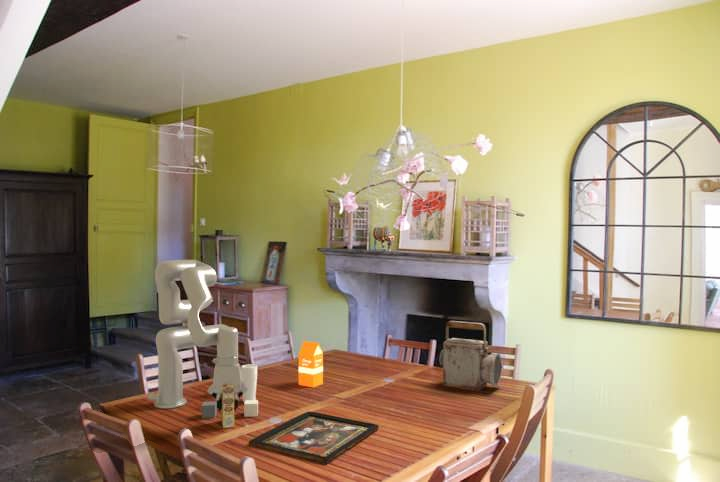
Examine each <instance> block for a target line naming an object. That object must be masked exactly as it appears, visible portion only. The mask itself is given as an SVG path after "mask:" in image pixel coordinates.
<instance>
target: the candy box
mask: <svg viewBox="0 0 720 482" xmlns="http://www.w3.org/2000/svg"><path fill="white" fill-rule="evenodd" d="M220 397H221V411H220V412H221V424H222V428H223V429H228V428H235V411H234V399H235V396H234V385H223V393H221V396H220Z"/></svg>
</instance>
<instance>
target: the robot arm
mask: <svg viewBox="0 0 720 482" xmlns="http://www.w3.org/2000/svg"><path fill="white" fill-rule="evenodd" d="M217 276H218V275H217V272H216V270H215V269H214V268H213V267H212V266H211V265H209V264H206V263H204V262H202V261H199V260H197V259H172V260H164V261H162V262H160V263H158V264H157V266H156V268H155V271H154V278H155V279H154V280H155V283H156V287H157V293H158V296H157V297H158V317H159V321H160V323H161V324H162V325H166V326H167V325H176V324H182V325H181V326H174V327H168V328H167V327H166V328H163V329H160V330H159V331H158V332H157V334H156V335H155V336H156V337H155V346H156V350H157V359H158V360H157V361H158V362H157V364H158V365H157V366H158V367H157V369H158V370H157V371H158V372H157V375H158V376H157V378H158V380H157V381H158V385H157V387H158V390H157V391H158V392H157V393H156V394H147V401H149V402H151V401H153V402H154V403H153V406H154V407H155V408H157V409H174V408H179V407H182V406H185V405H186V404H187V399H186V398H185V397H183V396H184V395H183V393H184V392H183V391H184V390H183V389H184V388H183V381H184V380H183V378H184V377H183V376H184V375H183V374H184V373H183V371H184V370H183V369H184V368H183V366H184V363H183V358H182V357H181V355H180V353H179V352H178V351H180V350H185V349H190V348H193V347H195V346H196V347H199V348H205V347H206V348H207V347H212V346H217V349H216V351H217V352H216V357H214V358H213V360H212V361H213V362H215V363H216V364H214V370H213V379H212V384H211V385H210V386H209V388H208V389H207V390H206V391H207V393H208V394H209V395H211V396H212V397H213V398H214V399H215V401H217V409H218V412H221V393H223V385H234V412H236V411H237V409H238V408H239V399H240V398H241V397H243V394H244V393H245V392H246V391H247V390H248V388H247V387H246V386H245V385H244V383H243V382H242V377H241V364H240V363H239V331H238V328H236V327H233V326H229V325H226V324H223V323H222V324H221V323H219V324H212V325H205V326H203V325H202V323H201V320H200V316H199V315H200V311H203V310H204V309H205V308H207V307H209V306H210V305H211V304H212V303H213V295H212V293H211V290H210V289H209V287H213V286H214V285H216V284H217V280H218V277H217ZM175 281H176V282H177V281H181V284H182V285H183V290H184V292H185V293H186V296H187V299H181V290H180V287H179V286H178V285H177V283H176V282H175ZM213 362H212V363H213ZM242 389H243V390H242Z"/></svg>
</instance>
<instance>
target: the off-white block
mask: <svg viewBox="0 0 720 482" xmlns="http://www.w3.org/2000/svg"><path fill="white" fill-rule="evenodd" d="M243 403H244V404H243V405H244V406H243V407H244V409H243V410H244V413H243V417H244V418H248V417H249V418H251V417H253V418H254V417H258V415H259V400H258V399H256V400H245V402H243Z"/></svg>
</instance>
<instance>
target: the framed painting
mask: <svg viewBox="0 0 720 482" xmlns="http://www.w3.org/2000/svg"><path fill="white" fill-rule="evenodd" d="M379 428H380V427H379V425H378V424H376V423H371V422H365V421H362V420H361V421H360V420H355V419H351V418H347V417H340V416H334V415H331V414H330V415H329V414H325V413H319V412H315V411H306V412H304V413H301V414H299V415H296V417H294V418H292V419H289V420H288V421H287V420H286V422H283V423H281V424H279V425H278V426H275V427H274V428H272V429H269V430H268V431H265V432H263V433H261V434H259V435H258V436H255V437H253V438H252V439H250V440H249V441H248V445H249V446H250V447H254V448H257V449H258V448H259V449H263V450H266V451H269V452H270V451H271V452H273V453H279V454H283V455H286V456H290V457H295V458H298V459H304V460H307V461H311V462H315V463H318V464H322V465H328V464H330V463H332V462H333V461H334V460H335V459H337V458H338V457H340V456H341V455H342V454H344V453H346V452H348V451H349V450H350V449H351V448H353V447H354V446H356V445H357V444H359V443H360V442H362V441H363V440H365V439H366V438H368V437H369V436H372V434H374V433H376V432H377V431H378V429H379Z"/></svg>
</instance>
